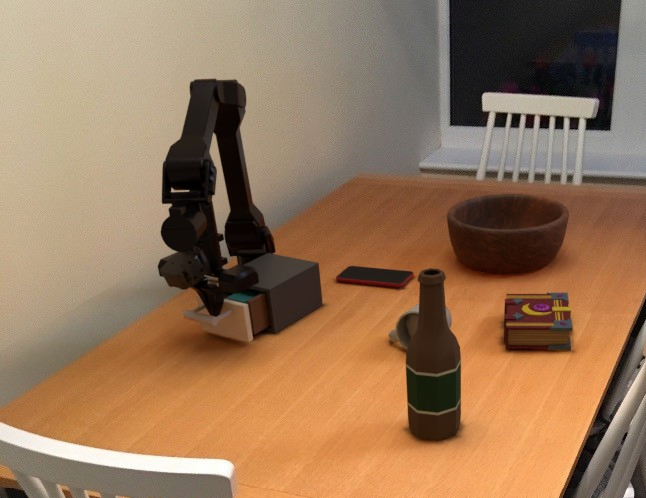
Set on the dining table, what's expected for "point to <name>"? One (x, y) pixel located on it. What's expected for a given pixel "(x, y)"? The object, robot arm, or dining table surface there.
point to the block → (243, 296)
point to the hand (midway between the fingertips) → (215, 318)
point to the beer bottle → (433, 365)
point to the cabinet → (287, 288)
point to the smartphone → (375, 276)
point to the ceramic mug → (410, 326)
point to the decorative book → (537, 321)
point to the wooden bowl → (507, 232)
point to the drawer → (234, 317)
